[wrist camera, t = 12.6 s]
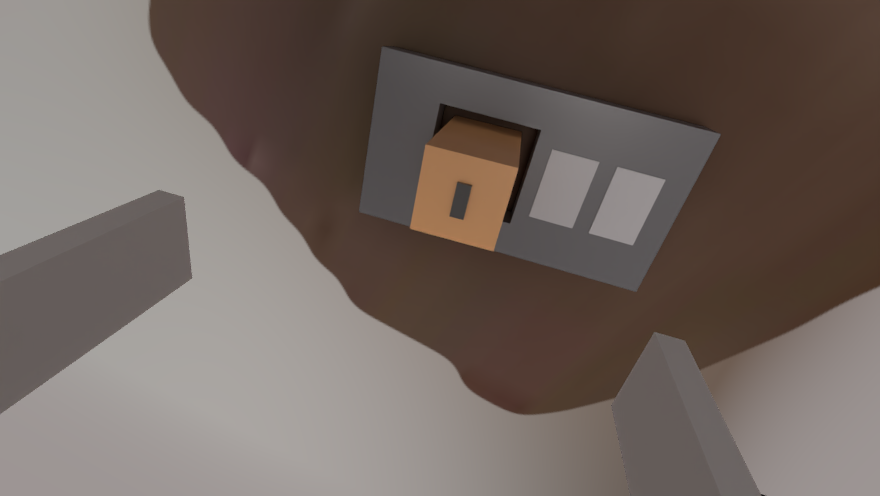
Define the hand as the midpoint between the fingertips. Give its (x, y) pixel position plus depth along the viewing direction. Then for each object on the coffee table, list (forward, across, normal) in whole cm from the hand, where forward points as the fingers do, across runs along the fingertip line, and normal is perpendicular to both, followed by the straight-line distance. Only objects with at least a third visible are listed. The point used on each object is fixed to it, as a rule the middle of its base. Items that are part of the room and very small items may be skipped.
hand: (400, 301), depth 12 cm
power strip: (+22, +3, -2) cm, 22 cm away
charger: (+22, 0, -2) cm, 22 cm away
